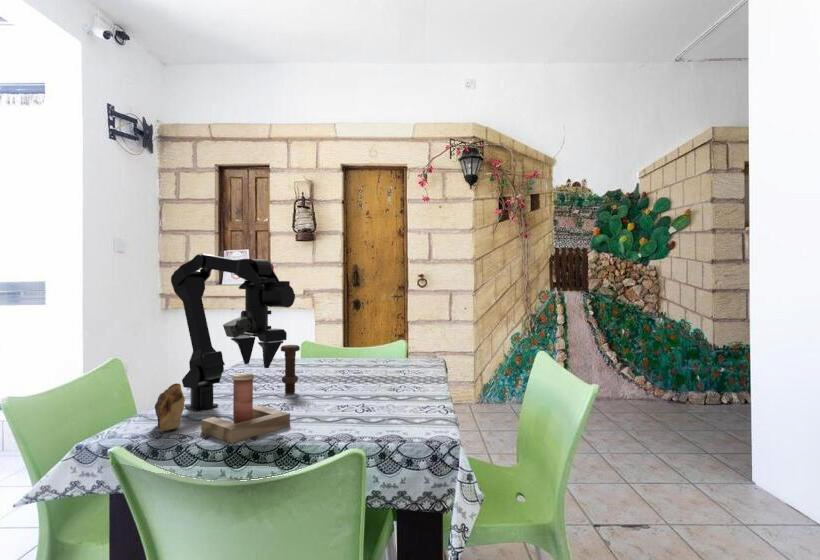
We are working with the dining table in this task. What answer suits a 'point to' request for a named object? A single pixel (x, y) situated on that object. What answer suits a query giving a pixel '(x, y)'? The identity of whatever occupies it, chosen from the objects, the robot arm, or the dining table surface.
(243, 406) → the bobbin
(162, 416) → the decorative rock
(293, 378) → the bolt
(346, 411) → the dining table surface
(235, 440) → the notch board
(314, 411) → the dining table surface
